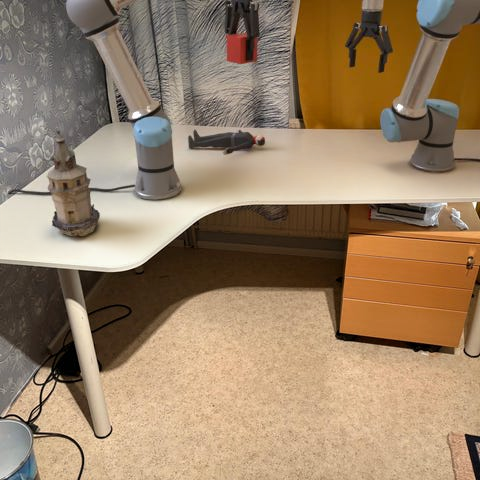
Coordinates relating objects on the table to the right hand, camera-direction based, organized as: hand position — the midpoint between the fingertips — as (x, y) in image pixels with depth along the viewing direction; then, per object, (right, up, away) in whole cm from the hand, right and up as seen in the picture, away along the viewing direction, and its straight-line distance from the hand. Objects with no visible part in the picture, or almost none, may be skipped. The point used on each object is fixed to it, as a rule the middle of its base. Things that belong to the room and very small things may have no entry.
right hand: (366, 69), depth 207 cm
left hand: (-48, -7, -33) cm, 59 cm away
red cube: (-48, -8, -32) cm, 58 cm away
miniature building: (-96, -63, -52) cm, 126 cm away
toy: (-54, -29, +7) cm, 61 cm away
